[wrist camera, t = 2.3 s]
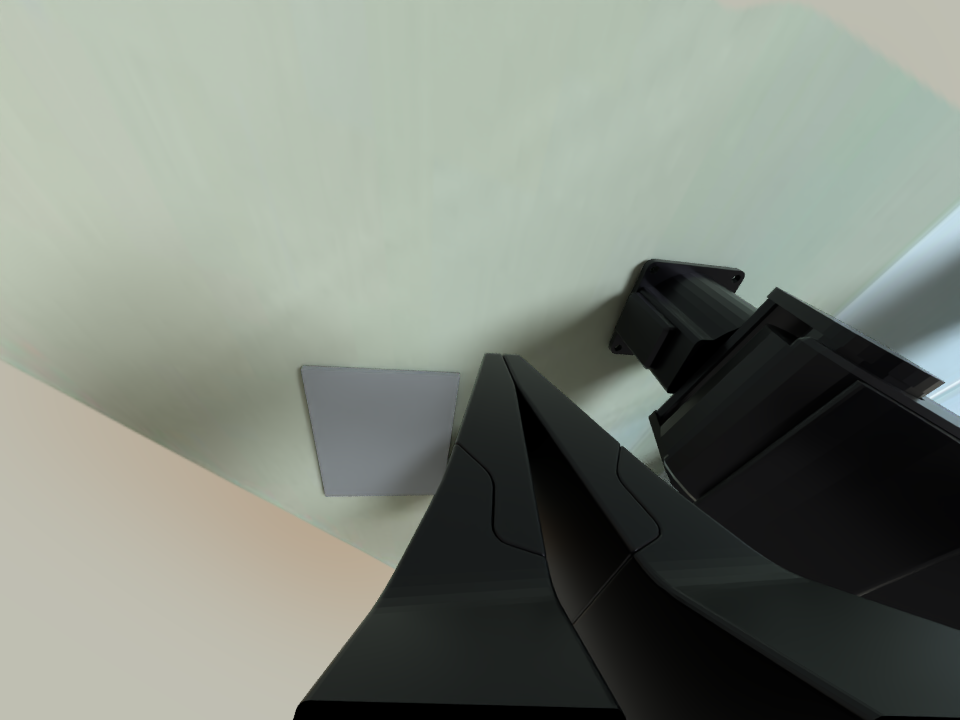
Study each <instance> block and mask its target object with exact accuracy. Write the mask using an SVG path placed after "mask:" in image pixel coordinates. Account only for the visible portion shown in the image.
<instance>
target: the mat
mask: <svg viewBox="0 0 960 720" xmlns="http://www.w3.org/2000/svg"><path fill="white" fill-rule="evenodd" d="M301 373H302V378H303V383H304V388H305V394H306V399H307V404H308V409H309V414H310V419H311V424H312V429H313V435H314V440H315V445H316V450H317V455H318V460H319V465H320V471H321V476H322V481H323V486H324V491H325V496H326V497H329V496H394V495H435V493H436V491H437V488H438V486H439V484H440V482H441V480H442V477H443V475H444V472H445V469H446V466H447V460H448V453H449V446H450V440H451V433H452V426H453V420H454V413H455V406H456V399H457V393H458V386H459V379H460V373H453V372H431V371H409V370H388V369H366V368H344V367H322V366H302V368H301Z"/></svg>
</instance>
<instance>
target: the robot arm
mask: <svg viewBox="0 0 960 720" xmlns="http://www.w3.org/2000/svg"><path fill="white" fill-rule="evenodd" d="M653 266H655V268H654V270H652V271H650V269H651V268H652V267H653ZM734 276H735V277H734ZM733 277H734V278H733ZM744 277H745V273H744V272H743V271H741V270H739V269H737V268H730V267H721V266H712V265H704V264H695V263H686V262H678V261H669V260H660V259H651V260H649V261H647V262H646V263H645V265H644V266H643V268H642V271H641V273H640V275H639V277H638V280H637V282H636V284H635V286H634V289H633V291H632V293H631V295H630V296H629V298H628V300H627V302H626V305H625V307H624V309H623V311H622V314H621V316H620V318H619V321H618V323H617V325H616V327H615V332H614V334H613V336H612V338H611V341H610V343H609V349H610V350H611V352H612V353H614V354H625V355H635V356H636V358H637V359H638V360H639V362H640V363H641V364H642V365H643V367H644V368H645V369H649V370H650V371H651V372H652V374H653V375H654V376H655V377H656V379H657V380H658V381H659V383H660V384H661V385H662V386H663V388H664V389H665V390H666V392H667V393H670V394H673V395H672V396H671V397H670V398H669V399H668V400H667V401H666V402H665V403H664V404H663V405H662V406H661V407H660V408H659V409H658V410H655V411H654V412H653V413H652V414H651V415H650V416H649V421H650V424H651V427H652V430H653V433H654V436H655V439H656V443H657V446H658V449H659V452H660V455H661V458H662V461H663V464H664V468H665V470H666V473H667V475H668V477H669V479H670V482H671V484H672V485H673V487H674V488H676V489H677V490H678V491H679V492H677V491H676V490H675V489H674V488H672V487H671V486H670V485H668V484H667V483H666V482H665V481H663V480H662V479H661V478H660V477H658V476H657V475H656V474H655V473H654V472H652V471H651V470H650V469H649V468H648V467H647V466H645V465H644V464H643V463H642V462H641V461H639V460H638V459H637V458H636V457H635V456H634V455H632V454H631V453H630V452H629V451H628V450H627V449H626V448H625V447H623V446H621V447H620V443H619V442H618V441H616V440H615V439H614V438H613V437H612V436H611V435H610V434H608V433H607V432H606V431H605V430H604V429H603V428H602V427H601V426H599V425H598V424H597V423H596V422H595V421H594V420H593V419H591V418H590V417H589V416H588V415H587V414H586V413H585V412H583V411H582V410H581V409H580V408H579V407H578V406H577V405H576V404H574V403H573V402H572V401H571V400H570V399H569V398H568V397H566V396H565V395H564V394H563V393H562V392H561V391H560V390H558V389H557V388H556V387H555V386H554V385H553V384H552V383H551V382H549V381H548V380H547V379H546V378H545V377H544V376H543V375H541V374H540V373H539V372H538V371H537V370H536V369H535V368H533V367H532V366H531V365H530V364H529V363H528V362H527V361H526V360H524V359H523V358H522V357H521V356H520V355H517V354H503V355H501V354H498V353H485V354H484V357H483V360H482V363H481V366H480V369H479V372H478V375H477V378H476V381H475V384H474V387H473V390H472V393H471V396H470V399H469V402H468V405H467V408H466V411H465V414H464V417H463V420H462V423H461V426H460V429H459V432H458V435H457V438H456V441H455V445H454V447H453V450H452V453H451V456H450V459H449V462H448V464H447V467H446V469H445V472H444V475H443V477H442V480H441V482H440V484H439V486H438V488H437V491H436V493H435V495H434V497H433V499H432V501H431V503H430V505H429V507H428V509H427V511H426V513H425V515H424V516H423V518H422V520H421V522H420V524H419V526H418V528H417V530H416V532H415V534H414V536H413V537H412V539H411V541H410V543H409V545H408V547H407V549H406V551H405V553H404V555H403V556H402V558H401V560H400V562H399V564H398V566H397V568H396V570H395V572H394V573H393V575H392V577H391V579H390V580H389V582H388V584H387V586H386V588H385V589H384V591H383V593H382V594H381V595H380V597H379V599H378V600H377V602H376V603H375V605H374V606H373V608H372V610H371V611H370V612H369V614H368V615H367V616H366V618H365V619H364V620H363V622H362V623H361V624H360V625H359V627H358V628H357V629H356V631H355V632H354V633H353V635H352V636H351V637H350V639H349V640H348V641H347V642H346V644H345V645H344V646H343V648H342V649H341V650H340V652H339V653H338V654H337V656H336V657H335V658H334V660H333V661H332V662H331V663H330V665H329V666H328V667H327V669H326V670H325V671H324V672H323V674H322V675H321V676H320V678H319V679H318V680H317V682H316V683H315V684H314V686H313V687H312V688H311V689H310V691H309V692H308V693H307V695H306V696H305V697H304V699H303V700H302V701H301V702H300V704H299V705H298V707H297V709H296V712H295V715H294V718H293V720H960V416H958V415H956V414H955V413H953V412H951V411H950V410H948V409H946V408H945V407H943V406H941V405H940V404H938V403H936V402H935V401H933V400H931V399H930V398H928V397H926V395H927V394H929V393H930V392H932V391H933V390H935V389H936V388H938V387H939V386H941V385H942V384H944V383H945V382H944V381H942V380H941V379H939V378H938V377H936V376H934V375H933V374H931V373H929V372H928V371H926V370H924V369H923V368H921V367H919V366H918V365H916V364H914V363H913V362H911V361H909V360H908V359H906V358H904V357H903V356H901V355H899V354H898V353H896V352H894V351H893V350H891V349H890V348H888V347H886V346H884V345H883V344H881V343H879V342H877V341H876V340H874V339H872V338H870V337H868V336H867V335H865V334H863V333H861V332H859V331H858V330H856V329H854V328H852V327H850V326H849V325H847V324H845V323H843V322H841V321H840V320H838V319H836V318H834V317H832V316H830V315H829V314H827V313H825V312H823V311H821V310H819V309H817V308H815V307H813V306H812V305H810V304H808V303H806V302H804V301H802V300H800V299H798V298H796V297H795V296H793V295H791V294H789V293H787V292H785V291H783V290H781V289H779V288H778V287H776V288H775V289H774V290H773V291H772V292H771V293H770V294H769V295H768V296H767V298H768V299H767V300H766V301H765V302H764V303H763V304H762V305H761V306H760V307H759V308H758V309H757V308H755V307H754V306H752V305H751V304H749V303H748V302H746V301H745V300H743V299H742V298H740V297H739V296H737V295H736V294H734V293H735V292H736V290H737V289H738V287H739V286H740V284H741V282H742V281H743V279H744ZM617 345H619V346H618V347H616V346H617Z"/></svg>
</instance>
